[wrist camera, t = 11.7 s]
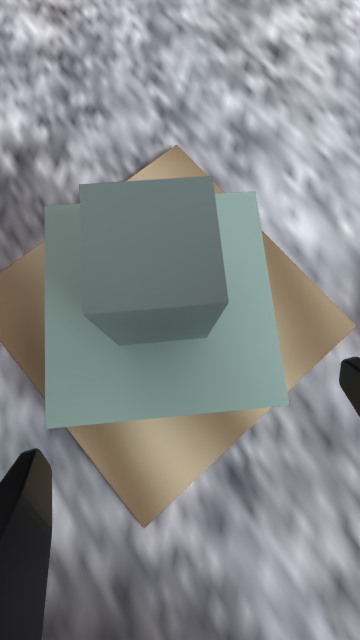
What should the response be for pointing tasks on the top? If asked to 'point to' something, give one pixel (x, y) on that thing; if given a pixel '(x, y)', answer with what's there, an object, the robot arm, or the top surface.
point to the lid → (157, 304)
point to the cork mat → (179, 431)
